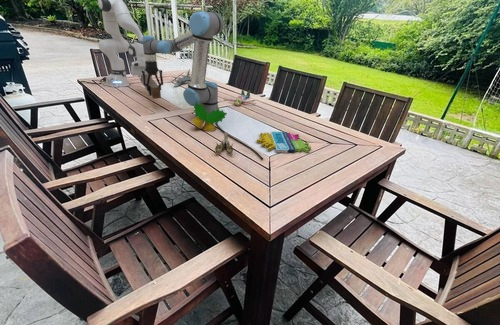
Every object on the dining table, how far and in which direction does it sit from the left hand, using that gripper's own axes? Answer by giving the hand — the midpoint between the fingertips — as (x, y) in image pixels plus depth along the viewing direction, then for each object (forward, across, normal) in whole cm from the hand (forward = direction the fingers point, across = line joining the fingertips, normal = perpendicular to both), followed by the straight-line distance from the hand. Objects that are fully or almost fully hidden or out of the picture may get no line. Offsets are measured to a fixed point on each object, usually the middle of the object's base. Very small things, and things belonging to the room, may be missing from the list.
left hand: (145, 80), depth 216 cm
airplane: (+12, -42, -35) cm, 56 cm away
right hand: (+1, 0, +38) cm, 38 cm away
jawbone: (+10, -19, +121) cm, 123 cm away
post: (+2, 0, +19) cm, 19 cm away
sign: (+10, -54, +123) cm, 135 cm away
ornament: (+11, -22, +88) cm, 92 cm away
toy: (+11, -69, +41) cm, 81 cm away
